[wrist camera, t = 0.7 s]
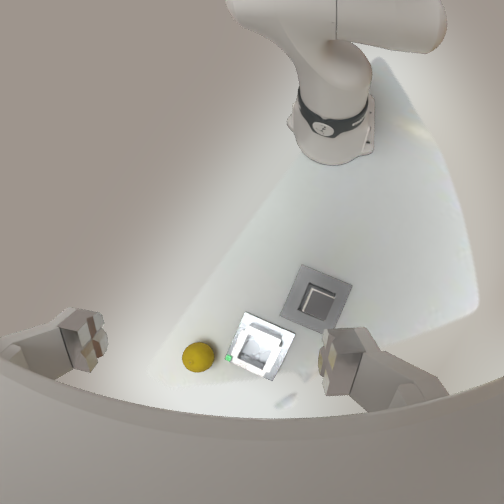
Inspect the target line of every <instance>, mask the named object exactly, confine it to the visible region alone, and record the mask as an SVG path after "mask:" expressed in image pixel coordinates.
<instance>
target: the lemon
mask: <svg viewBox="0 0 504 504" xmlns="http://www.w3.org/2000/svg"><path fill="white" fill-rule="evenodd" d="M182 360H183V364H184V365H185V367H186V368H187V369H188V370H190V371H192V372H203V371H205V370H207V369H209V368H210V367H211V365H212V364H213V361H214V353H213V350H212V349H211V348H210V346H208V345H207V344H205V343H200V342H197V343H193V344H191V345H189V346H188V347H187V348H186V349H185V351H184V352H183V355H182Z"/></svg>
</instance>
